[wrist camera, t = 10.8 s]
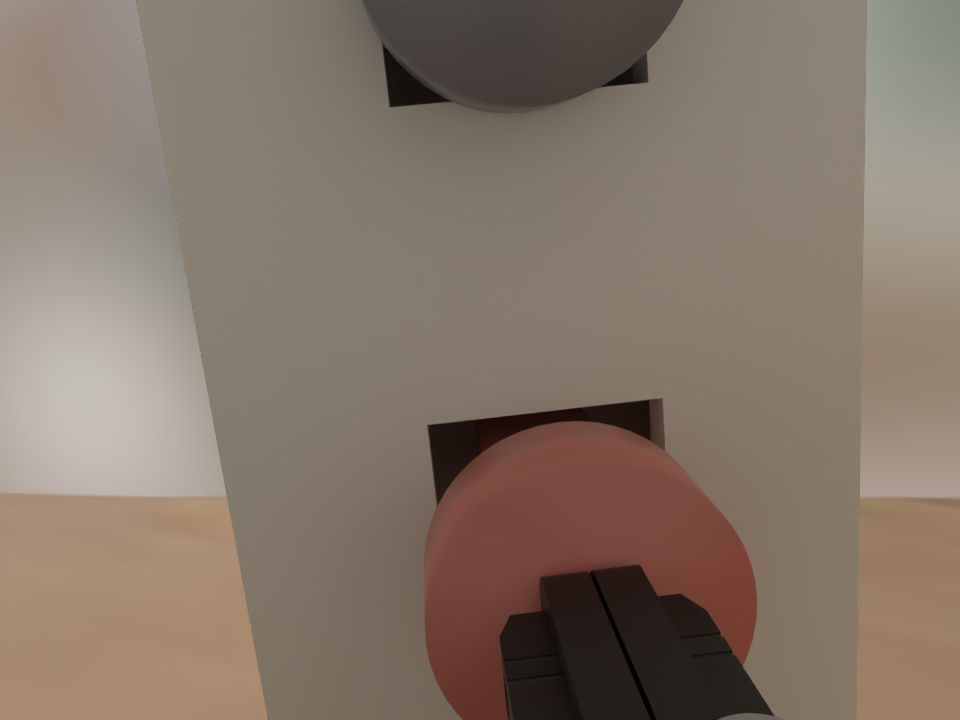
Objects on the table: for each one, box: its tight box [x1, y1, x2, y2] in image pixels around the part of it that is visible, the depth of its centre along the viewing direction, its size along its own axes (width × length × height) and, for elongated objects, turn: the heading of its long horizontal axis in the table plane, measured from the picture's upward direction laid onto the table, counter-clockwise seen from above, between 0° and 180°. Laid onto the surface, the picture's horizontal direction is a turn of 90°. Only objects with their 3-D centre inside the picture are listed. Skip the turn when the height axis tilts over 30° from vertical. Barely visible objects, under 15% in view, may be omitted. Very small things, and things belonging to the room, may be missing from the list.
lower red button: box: [424, 407, 757, 720], centre depth 16 cm, size 7×5×5 cm
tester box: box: [136, 0, 867, 720], centre depth 18 cm, size 6×12×22 cm, turn 94°
